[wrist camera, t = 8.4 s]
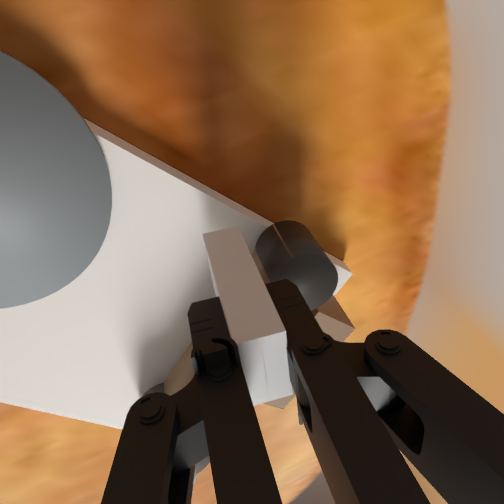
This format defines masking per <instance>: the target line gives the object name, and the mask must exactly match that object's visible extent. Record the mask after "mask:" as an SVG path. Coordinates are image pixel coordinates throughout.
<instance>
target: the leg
mask: <svg viewBox="0 0 504 504" xmlns="http://www.w3.org/2000/svg"><path fill="white" fill-rule="evenodd" d="M251 256H252V258H253V260H254V262H255V264H256V266H257V269H258V271H259V273H260V275H261V277H262V280H263V282H264V284H267V283H271V282H275V281H279V280H283V279H288V280H289V281H291V282H292V283H294V284H295V285H297V287H298V289H299V290H300V292H301V294H302V296H303V297H304V299H305V301H306V304H308V306H309V308H310V310H314V309H316V308H318V307H320V306H321V305H323V304H324V303H325V302H326V301H328V300H329V298H330V297H331V296H332V295H333V293H334V291H335V290H336V287H337V284H338V273H337V270H336V268H335V266H334V265H333V263H332V262H331V260H330V259H329V258H328V256H327V255H326V254H325V252H324V251H323V250H322V248H321V247H320V245H319V244H318V243H317V241H316V240H315V239H314V237H313V236H312V234H311V233H310V232H309V230H308V229H307V228H306V227H305V226H304V225H302V224H301V223H299V222H296V221H281V222H277V223H275V224H272V225H271V226H269V227H268V228H267V229H265V230H264V231H263V232H262V234H261V235H260V236H259V238H258V240H257V243H256V246H255V250H254V252H253V253H252V255H251ZM192 349H193V345H192V342H191V343H190V345H189V346H188V348H187V349H186V351H185V352H184V354H183V355H182V357H181V358H180V359H179V361H178V362H177V364H176V365H175V367H174V368H173V370H172V371H171V373H170V374H169V375H168V377H167V378H166V380H165V381H164V382H163V383H160V384H157V385H155V386H153V387H152V388H150V389H149V390H148V391H147V392H145V393H144V395H143V396H145V395H146V394H150V393H154V392H161V393H166V394H168V395H170V396H171V395H173V394H174V393H176V392H178V391H179V390H181V389H182V388H184V387H185V386H186V385H187V384H188V383H189V382H190V381H191V380H192V378H193V376H194V374H195V372H194V368H193V365H192V361H191V351H192ZM143 396H142V397H143ZM209 462H210V457H209V456H207V457H206V458H204V459H203V460H201V461H200V462H198V463H197V464H195V465H196V474H197V473H199V472H200V471H202V470H203V469H204V468H205V467H206V466H207V465H208V463H209Z"/></svg>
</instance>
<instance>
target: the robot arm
mask: <svg viewBox="0 0 504 504" xmlns="http://www.w3.org/2000/svg"><path fill="white" fill-rule="evenodd" d="M202 235H203V240H204V244H205V249H206V254H207V258H208V263H209V268H210V272H211V277H212V281H213V286H214V290H215V294H216V297H214V298H210V299H206V300H202V301H198V302H194V303H191V306H190V308H189V311H188V313H187V315H188V321H189V327H190V333H191V339H192V345H193V349H192V351H191V361H192V365H193V368H194V372H195V374H194V376H193V378H192V380H191V381H190V382H189V383H188V384H187V385H186V386H185V387H184V388H182V389H181V390H179V391H178V392H176V393H174V394H173V395H171V396H170V395H168V394H166V393H161V392H154V393H150V394H146V395H145V396H143V397H141V398H139V399H138V400H137V401H136V402H135V403H134V404H133V405H132V406H131V407H130V409H129V411H128V413H127V416H126V419H125V423H124V426H123V430H122V433H121V436H120V440H119V443H118V447H117V450H116V454H115V457H114V460H113V464H112V467H111V471H110V474H109V478H108V481H107V484H106V488H105V491H104V495H103V498H102V502H101V504H191V498H192V490H193V481H194V473H195V464H197V463H198V462H200V461H201V460H203V459H204V458H206V457H207V456H209V457H210V463H211V469H212V475H213V482H214V488H215V494H216V500H217V504H282V501H281V498H280V494H279V491H278V488H277V484H276V481H275V477H274V474H273V471H272V467H271V464H270V460H269V457H268V454H267V450H266V447H265V443H264V440H263V437H262V433H261V430H260V427H259V423H258V420H257V416H256V413H255V410H254V406H255V405H258V404H262V403H265V402H269V401H272V400H276V399H279V398H283V397H286V396H290V395H293V392H292V387H293V389H294V392H295V394H296V397H297V406H298V416H299V424H300V425H302V424H303V423H304V425H305V428H306V431H307V433H308V436H309V438H310V441H311V443H312V446H313V448H314V451H315V453H316V456H317V458H318V461H319V463H320V466H321V468H322V471H323V473H324V476H325V478H326V481H327V484H328V486H329V488H330V491H331V494H332V496H333V499H334V501H335V504H430V502H429V500H428V499H427V497H426V495H425V494H424V492H423V491H422V488H421V487H420V485H419V483H418V482H417V480H416V478H415V477H414V475H413V473H412V471H411V470H410V468H409V466H408V465H407V463H406V461H405V459H404V458H403V456H402V454H401V453H400V451H401V452H402V453H403V454H404V455H405V456H406V457H407V458H408V460H409V461H410V462H411V463H412V464H413V465H414V466H415V467H416V468H417V470H418V471H419V472H420V473H421V474H422V475H423V476H424V477H425V478H426V479H427V481H428V482H429V483H430V484H431V485H432V486H433V487H434V488H435V489H436V490H437V492H438V493H439V494H440V495H441V496H442V497H443V498H444V499H445V500H446V502H447V503H448V504H504V414H503V413H501V412H500V411H499V410H498V409H496V408H495V407H494V406H493V405H491V404H490V403H489V402H488V401H486V400H485V399H484V398H483V397H481V396H480V395H479V394H478V393H476V392H475V391H474V390H472V389H471V388H470V387H469V386H467V385H466V384H465V383H463V382H462V381H461V380H460V379H459V378H457V377H456V376H455V375H454V374H452V373H451V372H450V371H449V370H447V369H446V368H445V367H444V366H442V365H441V364H440V363H439V362H437V361H436V360H435V359H434V358H432V357H431V356H430V355H429V354H427V353H426V352H425V351H423V350H422V349H421V348H420V347H419V346H417V345H416V344H415V343H413V342H412V341H411V340H410V339H408V338H407V337H406V336H404V335H403V334H401V333H399V332H397V331H393V330H377V331H374V332H372V333H371V334H369V335H368V336H367V337H366V339H365V342H364V343H346V342H340V341H336V340H334V339H333V338H332V337H331V336H330V335H328V334H326V333H324V332H323V331H322V329H321V327H320V326H319V324H318V322H317V320H316V319H315V317H314V315H313V313H312V312H311V310H310V308H309V306H308V304H306V301H305V299H304V297H303V296H302V294H301V292H300V290H299V289H298V287H297V285H295V284H294V283H292V282H291V281H289V280H288V279H283V280H279V281H275V282H271V283H267V284H264V282H263V280H262V277H261V275H260V273H259V271H258V269H257V266H256V264H255V262H254V260H253V258H252V256H251V253H250V251H249V249H248V247H247V245H246V242H245V240H244V238H243V236H242V234H241V231H240V229H239V227H238V226H235V227H231V228H226V229H222V230H217V231H213V232H208V233H204V234H202ZM399 450H400V451H399Z"/></svg>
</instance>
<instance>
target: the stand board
mask: <svg viewBox="0 0 504 504" xmlns="http://www.w3.org/2000/svg"><path fill="white" fill-rule="evenodd" d="M272 224H274V223H272V222H271V221H269V220H267V219H265V218H263V217H262V216H260V215H258V214H256V213H254V212H253V211H251V210H249V209H247V208H245V207H243V206H242V205H240V204H238V203H236V202H234V201H233V200H231V199H229V198H227V197H225V196H224V195H222V194H220V193H218V192H216V191H215V190H213V189H211V188H209V187H207V186H206V185H204V184H202V183H200V182H198V181H196V180H195V179H193V178H191V177H189V176H187V175H186V174H184V173H182V172H180V171H178V170H177V169H175V168H173V167H171V166H169V165H168V164H166V163H164V162H162V161H160V160H159V159H157V158H155V157H153V156H151V155H150V154H148V153H146V152H144V151H142V150H140V149H139V148H137V147H135V146H133V145H131V144H130V143H128V142H126V141H124V140H122V139H121V138H119V137H117V136H115V135H113V134H112V133H110V132H108V131H106V130H104V129H103V128H101V127H99V126H97V125H95V124H94V123H92V122H90V121H88V120H86V119H84V118H83V117H82V116H81V115H80V113H79V112H78V111H77V110H76V108H75V107H74V106H73V105H72V103H71V102H70V101H69V100H68V99H67V98H66V97H65V96H64V95H63V94H62V93H61V92H60V91H59V90H58V89H57V88H56V87H55V86H53V85H52V84H51V83H50V82H48V81H47V80H46V79H45V78H44V77H42V76H41V75H40V74H39V73H37V72H36V71H34V70H33V69H31V68H30V67H28V66H27V65H25V64H24V63H22V62H21V61H19V60H18V59H16V58H14V57H12V56H10V55H8V54H6V53H4V52H2V51H0V402H2V403H6V404H11V405H15V406H19V407H24V408H28V409H33V410H37V411H42V412H46V413H51V414H55V415H60V416H64V417H69V418H73V419H78V420H82V421H87V422H91V423H96V424H100V425H105V426H109V427H114V428H118V429H123V426H124V423H125V419H126V416H127V413H128V411H129V409H130V407H131V406H132V405H133V404H134V403H135V402H136V401H137V400H138V399H139V398H141V397H142V396H143V395H144V393H145V392H147V391H148V390H149V389H150V388H152V387H153V386H155V385H157V384H160V383H163V382H164V381H165V380H166V378H167V377H168V375H169V374H170V373H171V371H172V370H173V368H174V367H175V365H176V364H177V362H178V361H179V359H180V358H181V357H182V355H183V354H184V352H185V351H186V349H187V348H188V346H189V345H190V343H191V342H192V339H191V333H190V327H189V321H188V315H187V313H188V311H189V308H190V306H191V303H194V302H198V301H202V300H206V299H210V298H214V297H216V294H215V290H214V286H213V281H212V277H211V272H210V268H209V263H208V258H207V254H206V249H205V244H204V240H203V235H202V234H204V233H208V232H213V231H217V230H222V229H226V228H231V227H235V226H238V227H239V229H240V231H241V234H242V236H243V238H244V240H245V242H246V245H247V247H248V249H249V251H250V253H251V255H252V253H253V252H254V250H255V246H256V243H257V240H258V238H259V236H260V235H261V234H262V232H263V231H264V230H265V229H267V228H268V227H269V226H271V225H272ZM324 252H325V251H324ZM325 254H326V255H327V256H328V258H329V259H330V260H331V262H332V263H333V265H334V266H335V268H336V270H337V273H338V284H337V287H336V290H335V291H334V293H333V295H332V296H331V297H330V298H329V300H328V301H326V302H325V303H324V304H323V305H321V306H320V307H318V308H316V309H314V310H311V312H312V313H313V315H314V317H315V319H316V320H317V322H318V324H319V326H320V327H321V329H322V331H323V332H324V333H326V334H328V335H330V336H331V337H332V338H333V339H334V340H336V341H340V342H343V341H344V340H345V339H346V338H347V337H348V336H349V335H350V334H351V333H352V331H353V330H354V329H355V327H354V326H353V324H352V323H351V321H350V320H349V318H348V317H347V315H346V314H345V312H344V311H343V309H342V308H341V306H340V305H339V303H338V301H337V300H336V298H335V297H334V296H335V294H336V293H337V292H338V291H339V290H340V288H341V287H342V286H343V285H344V284H345V282H346V281H347V280H348V279H349V278H350V277H351V275H352V274H353V273H352V272H351V271H350V269H349V268H348V267H347V265H346V264H345V263H344V262H343V261H341V260H339V259H337V258H336V257H334V256H332V255H330V254H328V253H327V252H325ZM292 392H293V395H290V396H286V397H283V398H279V399H276V400H272V401H269V402H265V403H263V404H267V405H270V406H273V407H277V408H280V409H284V408H285V407H286V405H287V404H288V403H289V402H290V401H291V400H292V399H293V398H294V396H295V395H296V394H295V392H294V389H293V387H292ZM196 479H197V474H196V465H195V473H194V481H193V484H194V483H195V481H196Z"/></svg>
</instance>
